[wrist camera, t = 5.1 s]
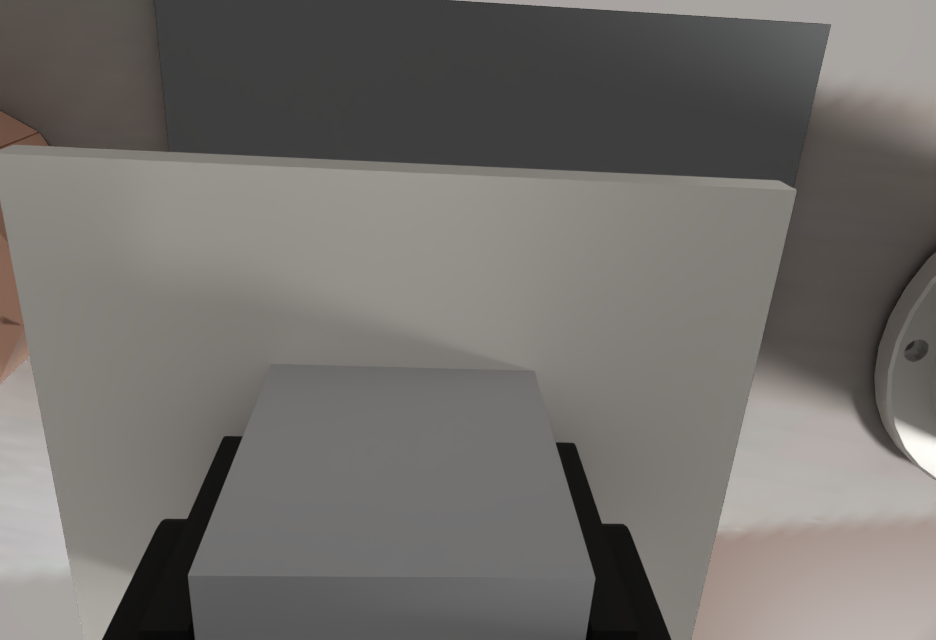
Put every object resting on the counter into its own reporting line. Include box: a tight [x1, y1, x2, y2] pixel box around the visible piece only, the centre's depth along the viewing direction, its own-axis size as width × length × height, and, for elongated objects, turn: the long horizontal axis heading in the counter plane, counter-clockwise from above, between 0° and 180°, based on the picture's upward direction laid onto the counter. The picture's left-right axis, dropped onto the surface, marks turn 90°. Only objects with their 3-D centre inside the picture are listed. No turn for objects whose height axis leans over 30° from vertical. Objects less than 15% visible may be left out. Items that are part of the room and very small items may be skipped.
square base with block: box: [0, 145, 797, 640], centre depth 11 cm, size 11×11×5 cm
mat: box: [154, 0, 831, 188], centre depth 25 cm, size 20×15×1 cm
